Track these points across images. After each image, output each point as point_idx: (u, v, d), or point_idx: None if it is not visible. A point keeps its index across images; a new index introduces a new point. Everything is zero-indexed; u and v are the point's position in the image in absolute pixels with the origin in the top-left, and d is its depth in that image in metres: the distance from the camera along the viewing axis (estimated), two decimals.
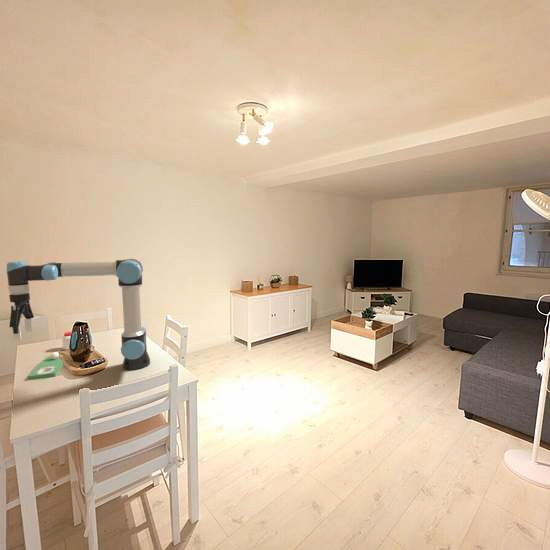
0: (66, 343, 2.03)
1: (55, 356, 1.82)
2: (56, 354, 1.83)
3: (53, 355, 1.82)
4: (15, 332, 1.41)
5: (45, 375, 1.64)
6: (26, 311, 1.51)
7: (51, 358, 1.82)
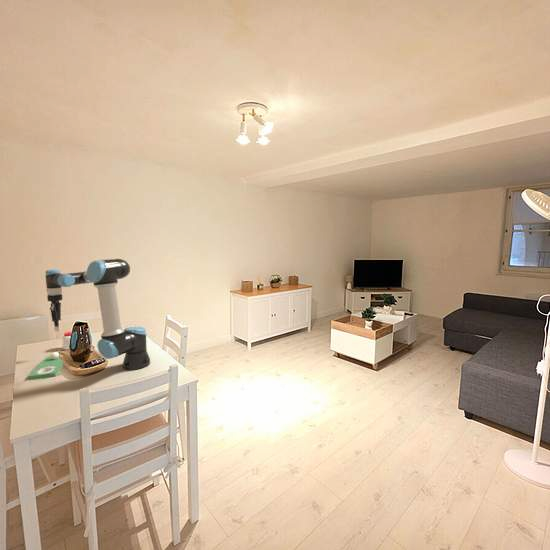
0: (66, 343, 2.03)
1: (55, 356, 1.82)
2: (56, 354, 1.83)
3: (53, 355, 1.82)
4: (56, 325, 1.88)
5: (45, 375, 1.64)
6: None
7: (51, 358, 1.82)
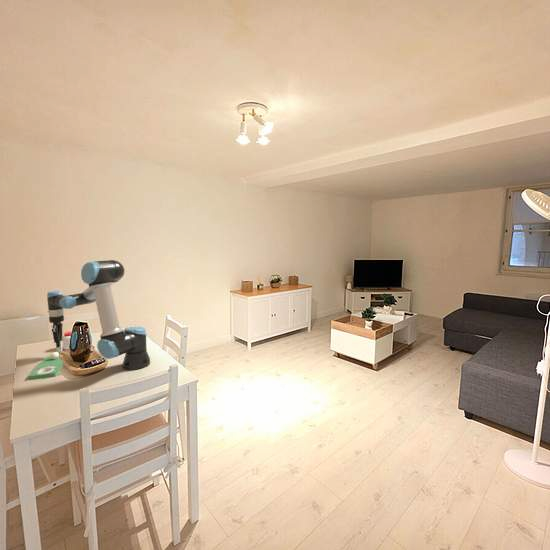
0: (66, 343, 2.03)
1: (55, 356, 1.82)
2: (56, 354, 1.83)
3: (53, 355, 1.82)
4: (58, 346, 1.90)
5: (45, 375, 1.64)
6: None
7: (51, 358, 1.82)
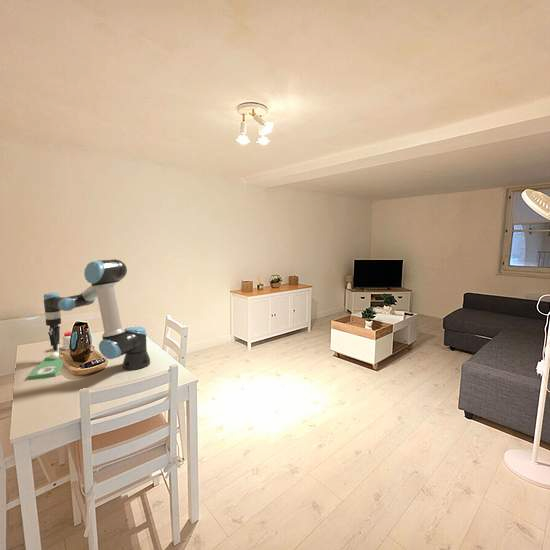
0: (66, 343, 2.03)
1: (55, 356, 1.82)
2: (56, 354, 1.83)
3: (53, 355, 1.82)
4: (54, 349, 1.84)
5: (45, 375, 1.64)
6: None
7: (51, 358, 1.82)
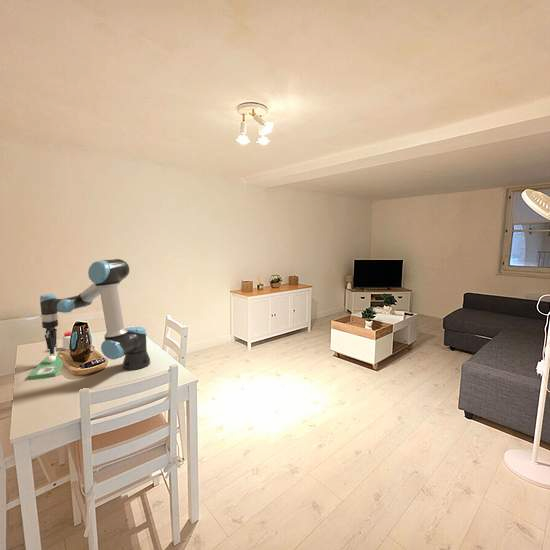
0: (66, 343, 2.03)
1: None
2: (54, 361, 1.79)
3: None
4: (51, 353, 1.79)
5: (45, 375, 1.64)
6: (53, 337, 1.80)
7: None
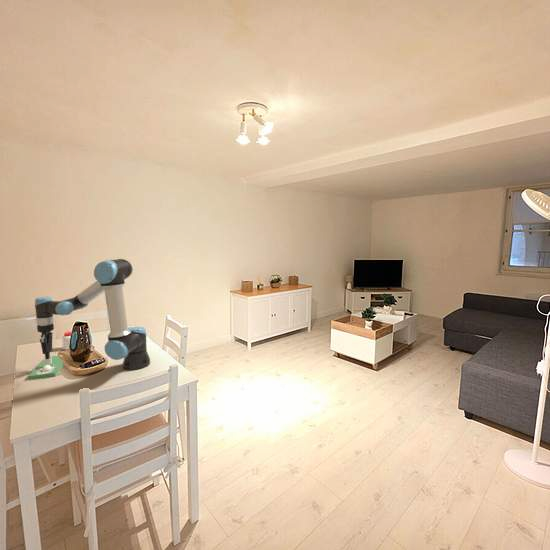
0: (66, 343, 2.03)
1: None
2: (48, 369, 1.69)
3: (45, 370, 1.68)
4: (47, 358, 1.72)
5: (45, 375, 1.64)
6: None
7: None
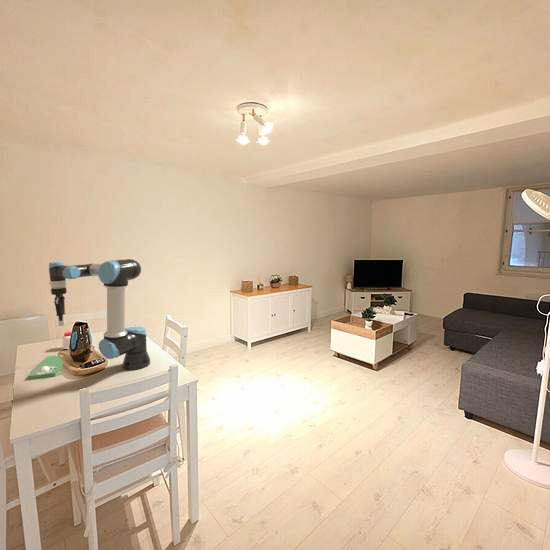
0: (66, 343, 2.03)
1: None
2: (46, 371, 1.68)
3: None
4: (60, 319, 1.82)
5: (45, 375, 1.64)
6: None
7: None
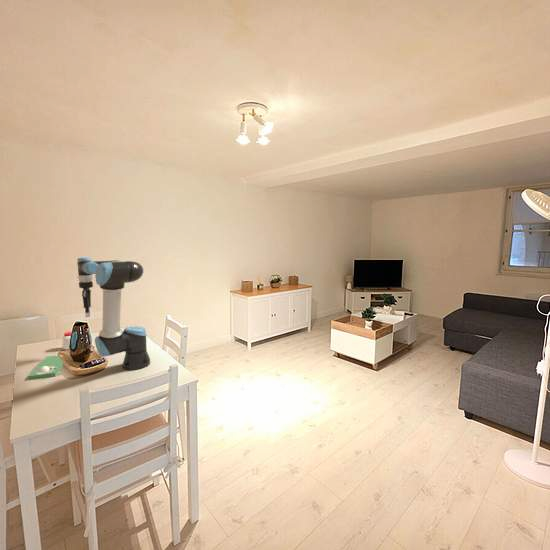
0: (66, 343, 2.03)
1: None
2: (46, 371, 1.67)
3: None
4: (87, 311, 1.94)
5: (45, 375, 1.64)
6: None
7: None
